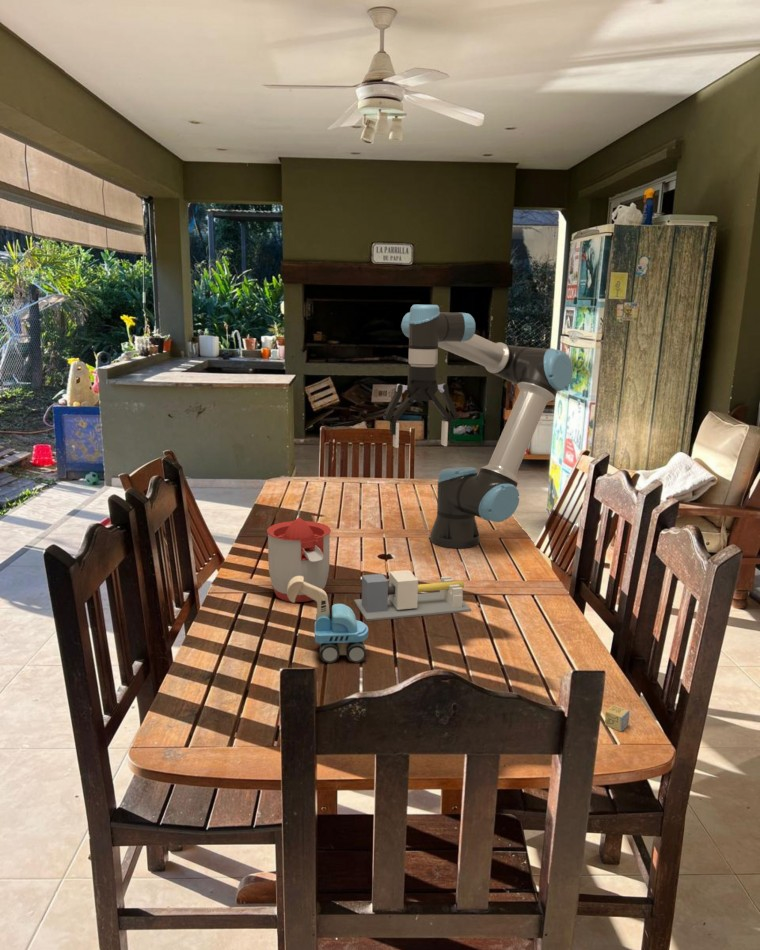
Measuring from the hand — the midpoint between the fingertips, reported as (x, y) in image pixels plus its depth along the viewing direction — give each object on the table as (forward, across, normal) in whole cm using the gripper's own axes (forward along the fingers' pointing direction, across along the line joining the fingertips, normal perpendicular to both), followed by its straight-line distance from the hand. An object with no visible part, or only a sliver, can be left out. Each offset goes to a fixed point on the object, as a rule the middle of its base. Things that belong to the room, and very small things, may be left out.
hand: (420, 446), depth 200 cm
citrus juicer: (+35, +34, +11) cm, 50 cm away
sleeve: (+34, +11, +24) cm, 43 cm away
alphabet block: (+35, -10, +83) cm, 90 cm away
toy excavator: (+35, +34, +44) cm, 66 cm away
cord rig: (+35, +9, +24) cm, 43 cm away
